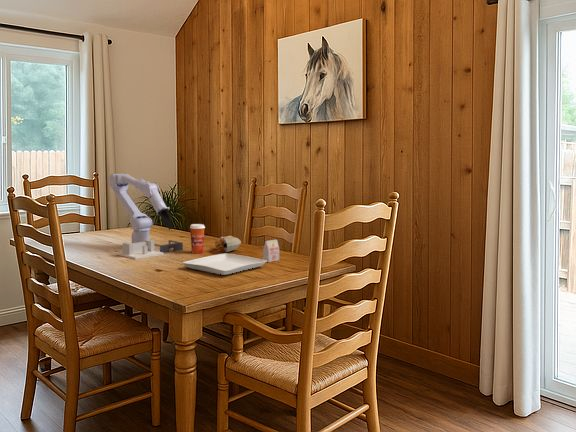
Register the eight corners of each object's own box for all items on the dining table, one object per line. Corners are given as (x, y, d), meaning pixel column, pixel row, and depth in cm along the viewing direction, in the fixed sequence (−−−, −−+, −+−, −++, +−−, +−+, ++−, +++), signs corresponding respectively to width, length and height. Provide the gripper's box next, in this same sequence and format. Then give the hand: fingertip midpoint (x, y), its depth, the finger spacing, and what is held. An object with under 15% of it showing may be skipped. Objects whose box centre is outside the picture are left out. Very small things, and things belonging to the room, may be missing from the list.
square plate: (225, 260, 277) (225, 252, 277) (268, 268, 260) (268, 259, 260) (180, 269, 257) (180, 260, 256) (224, 279, 239) (224, 269, 239)
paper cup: (190, 254, 289) (190, 226, 287) (189, 251, 296) (188, 224, 294) (206, 253, 291) (206, 225, 289) (204, 250, 298) (204, 223, 296)
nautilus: (218, 257, 284) (197, 255, 293) (248, 249, 300) (228, 247, 310) (216, 241, 283) (196, 239, 292) (247, 233, 299) (226, 232, 308)
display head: (117, 254, 286) (116, 242, 285) (145, 250, 298) (145, 238, 297) (135, 259, 275) (135, 246, 275) (163, 254, 287) (163, 242, 286)
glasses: (148, 250, 298) (148, 242, 297) (169, 247, 307) (169, 239, 307) (161, 253, 290) (161, 245, 289) (183, 250, 299) (183, 242, 299)
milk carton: (263, 261, 273) (263, 240, 272) (274, 259, 277) (274, 239, 276) (268, 262, 270) (268, 241, 269) (279, 261, 275) (279, 240, 273)
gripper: (163, 194, 289) (175, 217, 286) (167, 205, 303) (179, 226, 299) (150, 201, 288) (162, 223, 284) (155, 211, 301) (166, 233, 298)
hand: (170, 225), depth 291 cm, fingers open, 7 cm apart
